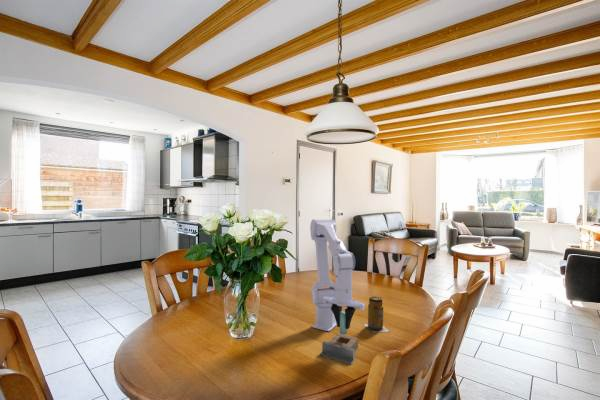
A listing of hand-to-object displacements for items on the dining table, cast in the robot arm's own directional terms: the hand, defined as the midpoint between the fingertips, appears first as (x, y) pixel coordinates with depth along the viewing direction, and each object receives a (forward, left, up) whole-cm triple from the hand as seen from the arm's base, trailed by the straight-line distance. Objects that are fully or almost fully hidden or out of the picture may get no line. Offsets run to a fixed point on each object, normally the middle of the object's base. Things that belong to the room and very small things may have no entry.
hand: (343, 327), depth 106 cm
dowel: (0, 0, -2) cm, 2 cm away
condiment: (-24, +5, -8) cm, 26 cm away
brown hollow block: (0, 0, -8) cm, 8 cm away
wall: (+5, 0, -8) cm, 9 cm away
